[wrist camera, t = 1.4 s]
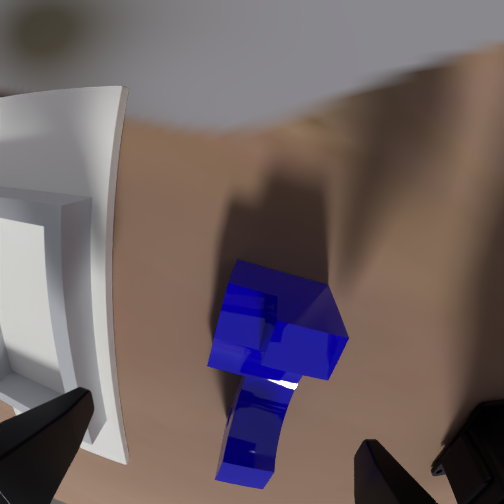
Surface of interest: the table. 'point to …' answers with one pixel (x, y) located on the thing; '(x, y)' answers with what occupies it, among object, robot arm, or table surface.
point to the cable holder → (269, 360)
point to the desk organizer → (60, 253)
